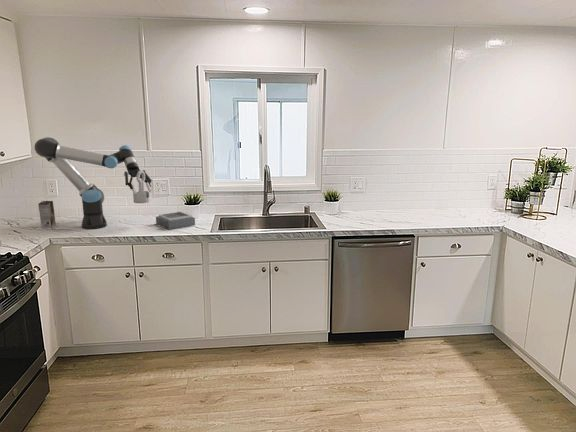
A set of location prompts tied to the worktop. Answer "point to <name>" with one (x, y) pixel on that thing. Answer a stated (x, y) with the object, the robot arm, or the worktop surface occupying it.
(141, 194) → the engine component
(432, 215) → the worktop surface
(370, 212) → the worktop surface
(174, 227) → the grey square tray
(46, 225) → the coffee box
